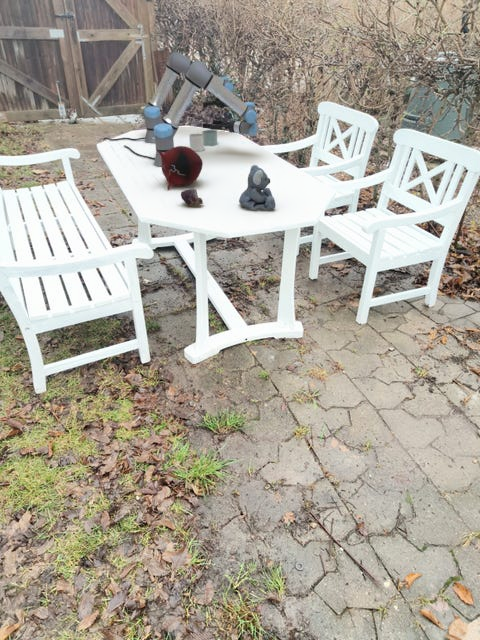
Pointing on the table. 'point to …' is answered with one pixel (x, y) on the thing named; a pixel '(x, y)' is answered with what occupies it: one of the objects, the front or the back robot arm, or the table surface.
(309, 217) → the table surface
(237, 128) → the front robot arm
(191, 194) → the rock
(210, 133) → the tub
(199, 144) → the grey paneled bucket
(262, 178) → the koala plush
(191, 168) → the dark red pot
